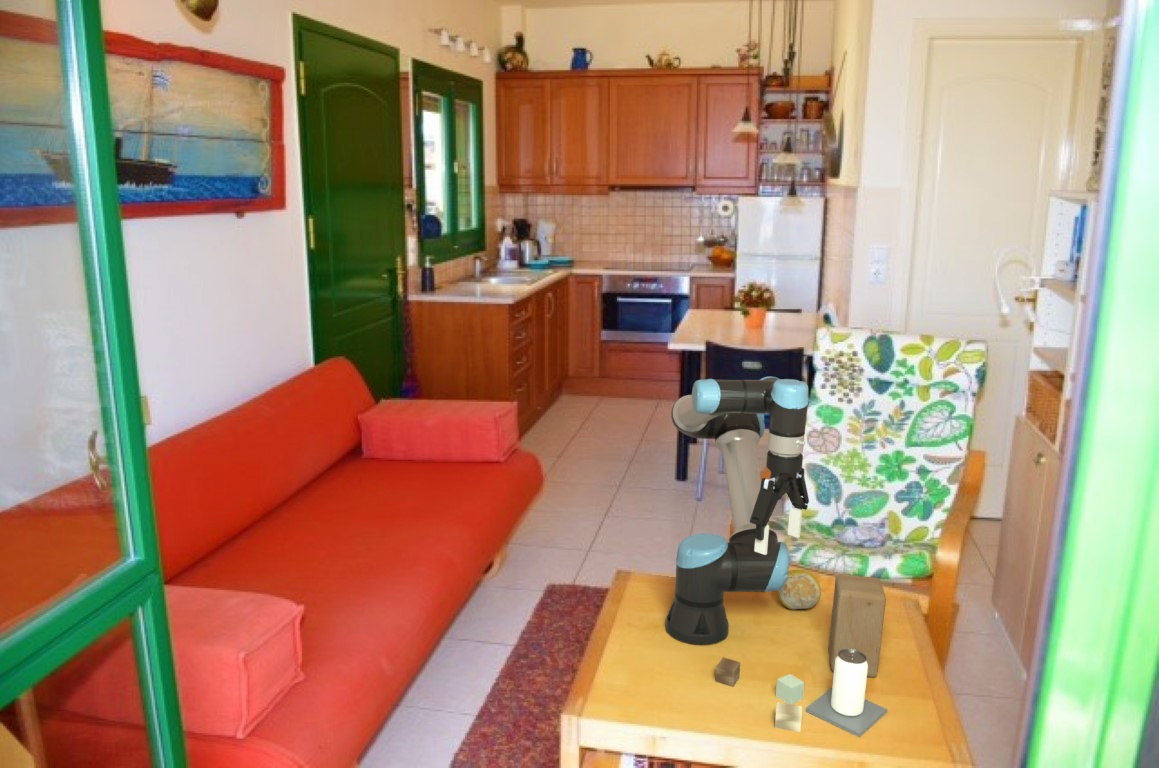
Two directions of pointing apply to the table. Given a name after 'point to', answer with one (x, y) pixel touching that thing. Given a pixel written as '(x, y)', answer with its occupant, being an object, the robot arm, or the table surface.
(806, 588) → the fruit
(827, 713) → the slate coaster
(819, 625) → the table surface
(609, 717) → the table surface
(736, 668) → the walnut block
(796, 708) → the pale birch block
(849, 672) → the can
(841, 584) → the wooden block
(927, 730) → the table surface
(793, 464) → the robot arm
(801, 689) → the sage painted cube
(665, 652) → the table surface
